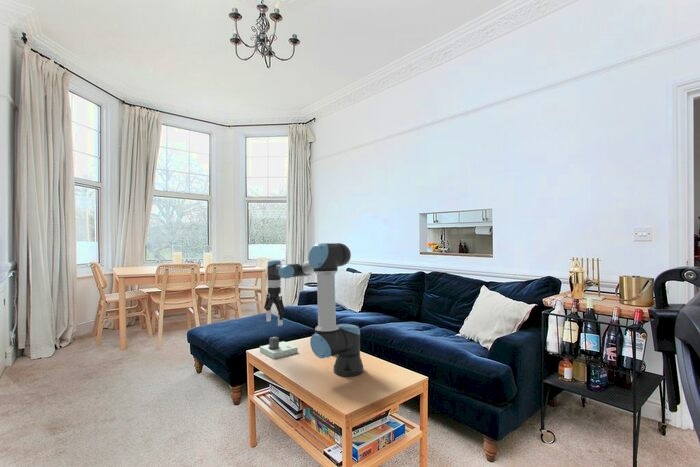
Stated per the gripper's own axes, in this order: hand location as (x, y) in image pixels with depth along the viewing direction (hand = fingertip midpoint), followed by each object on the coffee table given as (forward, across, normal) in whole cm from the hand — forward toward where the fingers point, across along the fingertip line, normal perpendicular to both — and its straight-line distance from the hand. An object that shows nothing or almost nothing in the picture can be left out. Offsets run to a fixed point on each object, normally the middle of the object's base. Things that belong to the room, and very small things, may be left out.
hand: (274, 323), depth 206 cm
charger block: (+17, 0, 0) cm, 17 cm away
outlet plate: (+17, 0, -3) cm, 18 cm away
